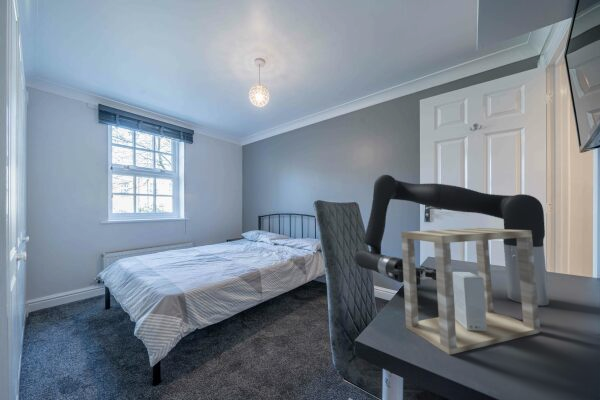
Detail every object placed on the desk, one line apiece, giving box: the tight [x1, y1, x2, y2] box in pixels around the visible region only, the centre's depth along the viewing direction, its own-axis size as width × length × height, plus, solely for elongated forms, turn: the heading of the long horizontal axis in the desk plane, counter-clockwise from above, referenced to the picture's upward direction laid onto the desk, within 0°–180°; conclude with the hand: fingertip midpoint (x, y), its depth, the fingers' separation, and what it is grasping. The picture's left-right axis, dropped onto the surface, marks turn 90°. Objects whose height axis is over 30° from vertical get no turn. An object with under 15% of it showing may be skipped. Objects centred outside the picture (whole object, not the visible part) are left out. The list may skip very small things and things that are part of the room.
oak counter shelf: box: [400, 227, 541, 356], centre depth 57 cm, size 27×12×24 cm, turn 106°
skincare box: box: [452, 271, 487, 331], centre depth 57 cm, size 6×4×12 cm
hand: (431, 279), depth 67 cm, fingers open, 8 cm apart
